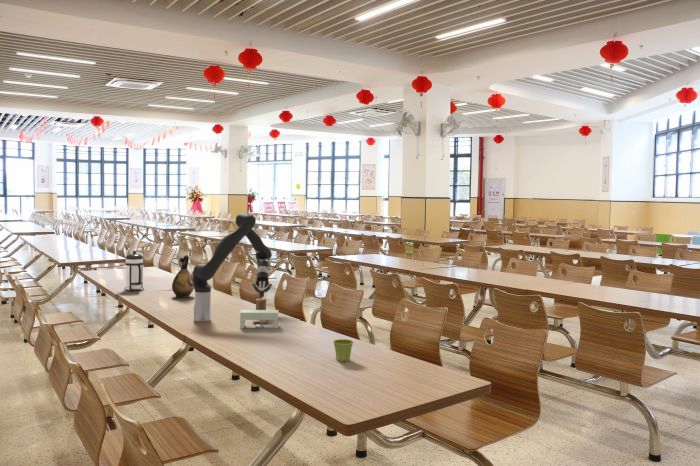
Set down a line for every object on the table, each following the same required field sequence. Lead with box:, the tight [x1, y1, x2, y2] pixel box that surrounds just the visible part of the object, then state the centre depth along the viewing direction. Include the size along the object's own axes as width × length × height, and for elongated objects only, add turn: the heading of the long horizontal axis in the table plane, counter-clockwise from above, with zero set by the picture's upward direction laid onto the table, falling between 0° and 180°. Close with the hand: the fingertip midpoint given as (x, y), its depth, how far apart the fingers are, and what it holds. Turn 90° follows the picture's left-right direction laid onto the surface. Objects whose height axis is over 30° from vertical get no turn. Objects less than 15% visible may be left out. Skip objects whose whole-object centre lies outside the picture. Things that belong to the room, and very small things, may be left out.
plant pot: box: [332, 338, 355, 363], centre depth 264 cm, size 9×9×9 cm
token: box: [254, 324, 265, 329], centre depth 326 cm, size 5×5×1 cm
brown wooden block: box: [252, 298, 268, 325], centre depth 339 cm, size 8×15×12 cm, turn 7°
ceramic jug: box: [171, 254, 195, 299], centre depth 410 cm, size 17×15×30 cm
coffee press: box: [124, 250, 145, 292], centre depth 431 cm, size 17×16×30 cm
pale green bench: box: [239, 309, 279, 330], centre depth 324 cm, size 21×8×9 cm, turn 97°
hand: (261, 296), depth 355 cm, fingers closed
